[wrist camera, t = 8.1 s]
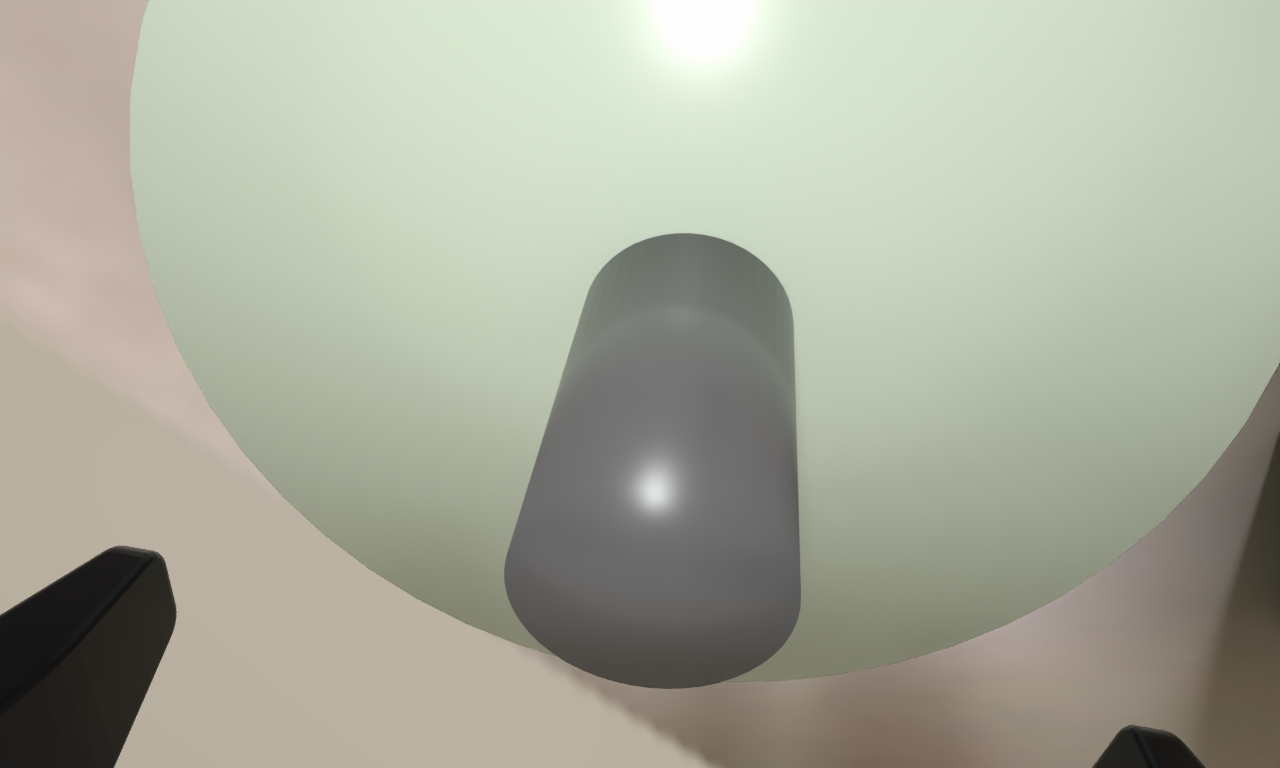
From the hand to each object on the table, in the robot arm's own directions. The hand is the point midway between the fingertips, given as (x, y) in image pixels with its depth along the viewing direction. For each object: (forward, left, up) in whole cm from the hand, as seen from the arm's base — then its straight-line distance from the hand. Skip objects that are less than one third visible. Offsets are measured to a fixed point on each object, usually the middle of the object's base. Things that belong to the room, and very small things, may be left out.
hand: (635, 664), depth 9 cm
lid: (0, 0, -7) cm, 7 cm away
